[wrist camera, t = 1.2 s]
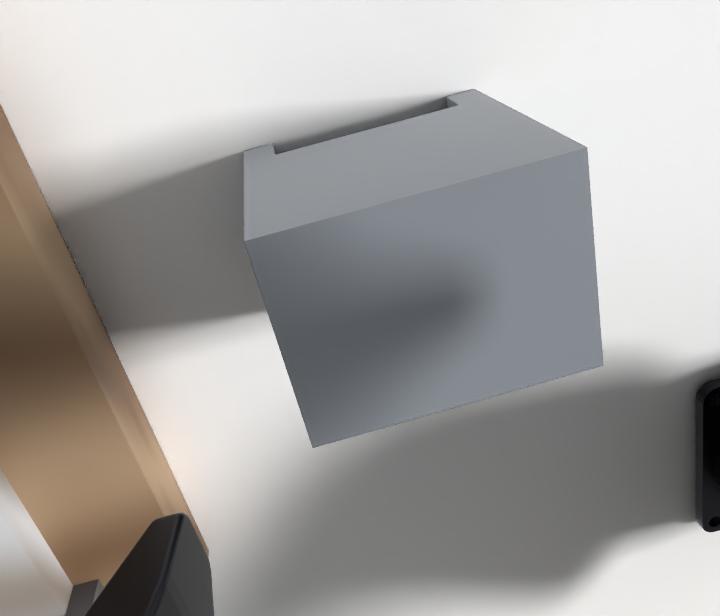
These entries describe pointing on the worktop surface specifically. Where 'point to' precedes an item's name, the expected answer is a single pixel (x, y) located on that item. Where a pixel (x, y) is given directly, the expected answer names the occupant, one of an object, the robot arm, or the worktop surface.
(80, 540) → the rail board
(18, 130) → the worktop surface
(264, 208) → the block
